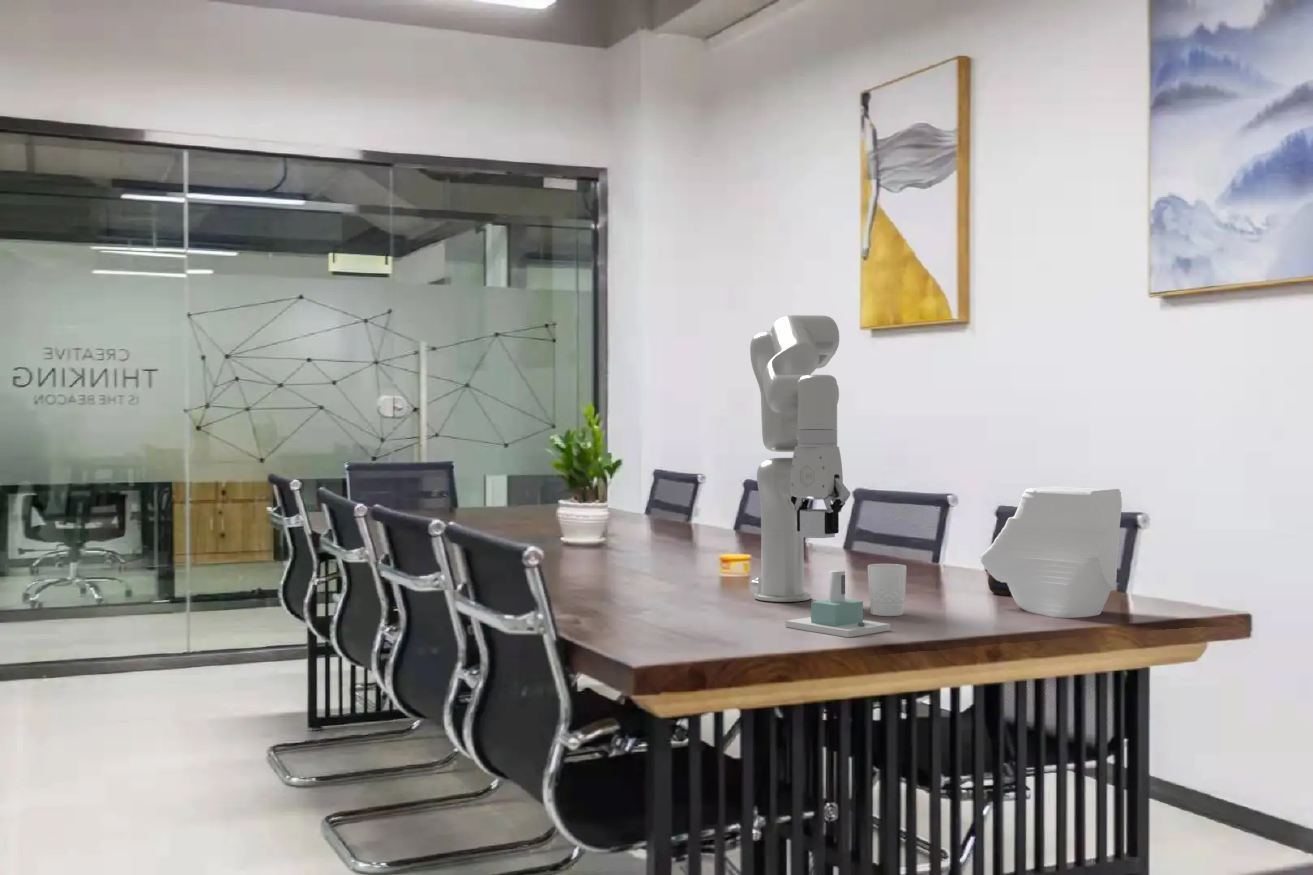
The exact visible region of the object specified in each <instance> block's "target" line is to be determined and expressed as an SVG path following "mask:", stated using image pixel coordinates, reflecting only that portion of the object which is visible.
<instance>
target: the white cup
mask: <svg viewBox="0 0 1313 875" xmlns="http://www.w3.org/2000/svg"><path fill="white" fill-rule="evenodd" d="M867 579H868V595H869V596H868V598H869V601H870V602H869V608H870V609H869V610H870V615H874V616H880V617H898V616H899V617H900V616H903V615H904V613H905V601H906V598H905V597H906V587H907V565H905V564H901V563H900V564H898V563H871V564H867Z"/></svg>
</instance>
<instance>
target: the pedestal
mask: <svg viewBox="0 0 1313 875" xmlns="http://www.w3.org/2000/svg"><path fill="white" fill-rule="evenodd" d="M828 574H829V575H828V578H829V580H828V597H829V599H823V600H815V601H811V602H810V606H811V608H810V611H811V612H810V616H809V617H801V618H796V619H795V618H793V619H789V620H788V619H787V620H785V621H784V623H785V624H784V627H785V628H787V629H789V628H790V629H795V630H800V631H807V632H812V633H813V632H814V633H820V634H825V635H832V636H838V637H844V638H853V637H857V636H859V637H860V636H864V635H870V634H878V633H882V632H883V633H884V632H889V631H891V623H885V622H879V621H872V620H867V619H866V620H864V601H863V600H855V599H849V598H846V571H845V570H837V569H836V570H829V571H828Z"/></svg>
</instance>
